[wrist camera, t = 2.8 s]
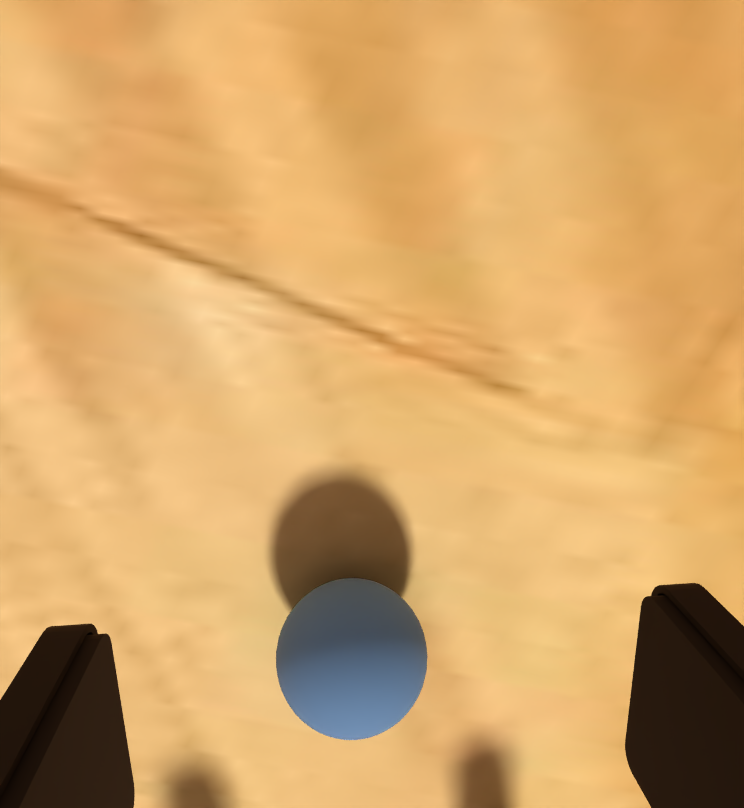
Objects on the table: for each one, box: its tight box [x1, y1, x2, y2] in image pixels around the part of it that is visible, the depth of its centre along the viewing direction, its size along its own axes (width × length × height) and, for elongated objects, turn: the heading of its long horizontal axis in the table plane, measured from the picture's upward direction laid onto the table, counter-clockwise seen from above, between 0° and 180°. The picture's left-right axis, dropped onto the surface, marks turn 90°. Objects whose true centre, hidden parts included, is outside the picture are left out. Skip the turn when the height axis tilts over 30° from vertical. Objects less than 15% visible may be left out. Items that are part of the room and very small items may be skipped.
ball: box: [276, 578, 427, 740], centre depth 24 cm, size 6×6×6 cm
